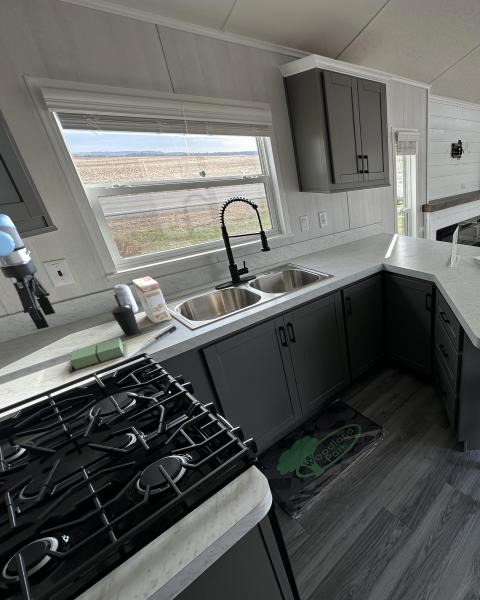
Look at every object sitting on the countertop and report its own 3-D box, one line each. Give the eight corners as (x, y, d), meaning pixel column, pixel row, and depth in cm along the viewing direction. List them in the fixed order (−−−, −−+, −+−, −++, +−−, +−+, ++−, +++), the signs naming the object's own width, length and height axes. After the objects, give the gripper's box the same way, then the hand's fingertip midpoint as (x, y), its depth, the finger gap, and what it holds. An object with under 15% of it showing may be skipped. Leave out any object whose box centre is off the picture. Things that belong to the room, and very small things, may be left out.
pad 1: (75, 369, 122) (70, 360, 121) (77, 358, 129) (72, 350, 127) (99, 362, 126) (94, 353, 124) (100, 352, 133) (96, 343, 131)
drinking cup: (121, 335, 147) (102, 295, 138) (142, 329, 151) (125, 289, 143) (123, 341, 142) (104, 300, 133) (144, 335, 146) (127, 294, 138)
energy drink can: (141, 309, 170) (130, 283, 164) (134, 315, 165) (122, 287, 158) (130, 310, 170) (118, 283, 164) (121, 315, 165) (109, 288, 158)
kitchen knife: (175, 329, 150) (173, 325, 149) (176, 329, 150) (175, 325, 149) (140, 351, 134) (138, 347, 133) (142, 352, 134) (140, 347, 133)
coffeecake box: (172, 319, 159) (158, 282, 151) (155, 325, 154) (140, 287, 146) (162, 310, 168) (148, 275, 160) (146, 316, 163) (131, 280, 155)
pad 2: (100, 361, 126) (96, 353, 125) (102, 351, 133) (97, 343, 131) (123, 354, 130) (119, 346, 128) (123, 345, 137) (119, 337, 135)
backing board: (71, 375, 121) (68, 370, 120) (75, 361, 130) (72, 356, 129) (125, 358, 130) (122, 353, 129) (125, 346, 138) (122, 341, 137)
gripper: (23, 270, 99) (56, 330, 108) (39, 253, 118) (66, 306, 126) (-14, 275, 95) (24, 338, 104) (9, 257, 113) (39, 311, 122)
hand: (47, 320), depth 115 cm, fingers open, 13 cm apart
